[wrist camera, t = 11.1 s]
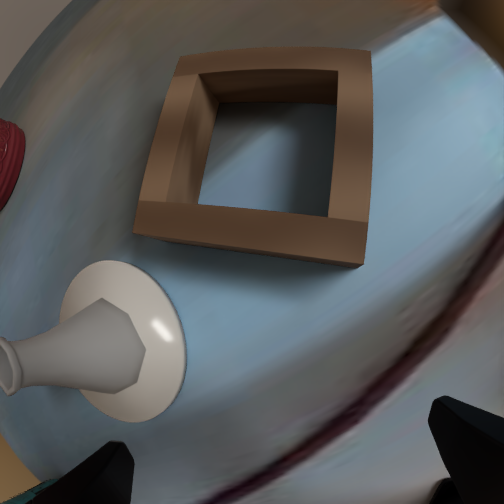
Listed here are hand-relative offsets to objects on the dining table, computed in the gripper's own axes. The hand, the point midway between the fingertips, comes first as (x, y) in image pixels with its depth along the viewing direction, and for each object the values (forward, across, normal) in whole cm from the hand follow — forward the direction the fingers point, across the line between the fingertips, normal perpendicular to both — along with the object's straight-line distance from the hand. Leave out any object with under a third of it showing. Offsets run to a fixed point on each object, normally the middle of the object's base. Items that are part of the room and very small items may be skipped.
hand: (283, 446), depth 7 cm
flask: (+14, +12, +4) cm, 18 cm away
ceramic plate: (+14, +12, +4) cm, 19 cm away
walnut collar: (+15, -2, -8) cm, 17 cm away
